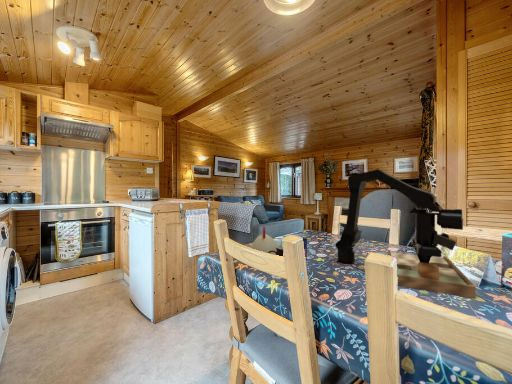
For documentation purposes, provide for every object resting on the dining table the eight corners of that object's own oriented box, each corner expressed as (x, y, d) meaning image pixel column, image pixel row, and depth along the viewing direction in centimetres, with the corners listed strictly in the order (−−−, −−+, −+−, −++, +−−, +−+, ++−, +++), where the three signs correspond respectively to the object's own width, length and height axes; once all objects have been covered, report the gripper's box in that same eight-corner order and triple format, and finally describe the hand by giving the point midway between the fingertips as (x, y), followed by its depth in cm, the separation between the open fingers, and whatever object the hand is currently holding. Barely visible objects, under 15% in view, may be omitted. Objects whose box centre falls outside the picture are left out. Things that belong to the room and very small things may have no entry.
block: (420, 277, 79) (420, 266, 79) (418, 272, 84) (418, 261, 84) (439, 280, 77) (439, 268, 77) (435, 275, 81) (435, 264, 81)
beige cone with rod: (277, 255, 115) (277, 225, 115) (280, 264, 101) (280, 230, 101) (249, 255, 115) (249, 225, 115) (248, 264, 102) (248, 230, 101)
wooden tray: (390, 284, 80) (390, 274, 80) (387, 257, 111) (387, 250, 111) (475, 298, 70) (475, 286, 69) (446, 264, 100) (446, 256, 100)
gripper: (462, 232, 72) (461, 282, 72) (446, 224, 88) (446, 265, 89) (418, 230, 77) (418, 276, 77) (411, 222, 94) (411, 260, 94)
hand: (424, 269), depth 84 cm, fingers closed
